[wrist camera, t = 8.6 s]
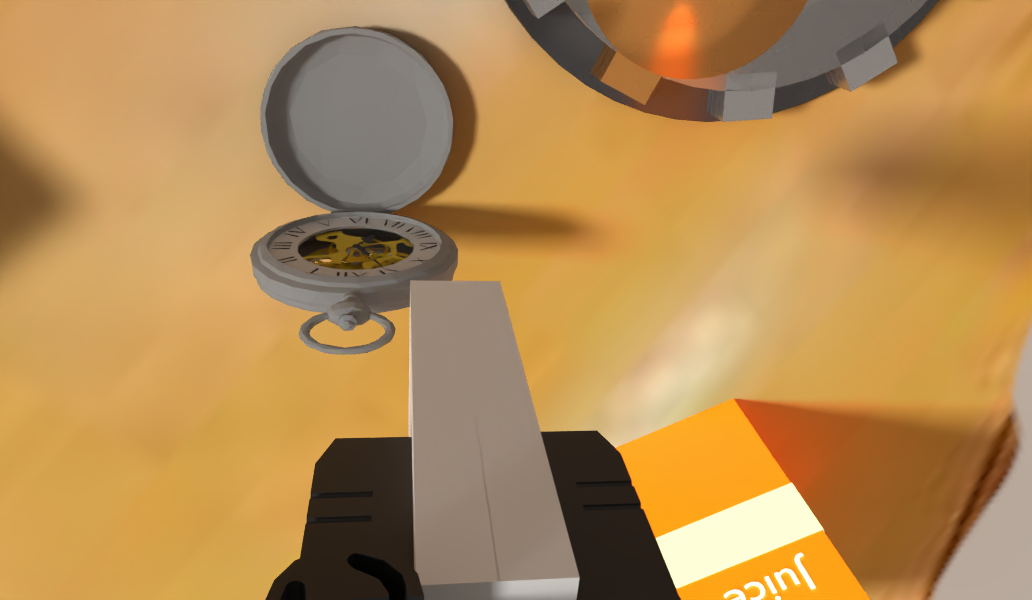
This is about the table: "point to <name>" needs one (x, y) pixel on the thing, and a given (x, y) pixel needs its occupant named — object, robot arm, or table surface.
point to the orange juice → (732, 514)
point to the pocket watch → (354, 178)
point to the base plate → (668, 97)
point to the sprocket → (737, 45)
